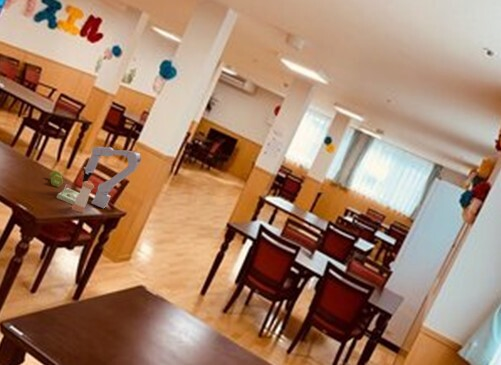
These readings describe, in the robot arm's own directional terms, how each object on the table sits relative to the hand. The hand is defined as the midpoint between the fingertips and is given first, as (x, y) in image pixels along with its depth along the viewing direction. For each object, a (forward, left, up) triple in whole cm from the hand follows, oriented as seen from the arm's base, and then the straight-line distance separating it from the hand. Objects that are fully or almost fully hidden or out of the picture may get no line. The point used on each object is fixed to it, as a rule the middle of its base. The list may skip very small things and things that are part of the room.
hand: (84, 182), depth 344 cm
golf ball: (0, +21, -7) cm, 22 cm away
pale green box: (+1, +16, -9) cm, 19 cm away
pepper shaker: (-7, +35, -10) cm, 37 cm away
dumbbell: (+18, -4, -10) cm, 21 cm away
